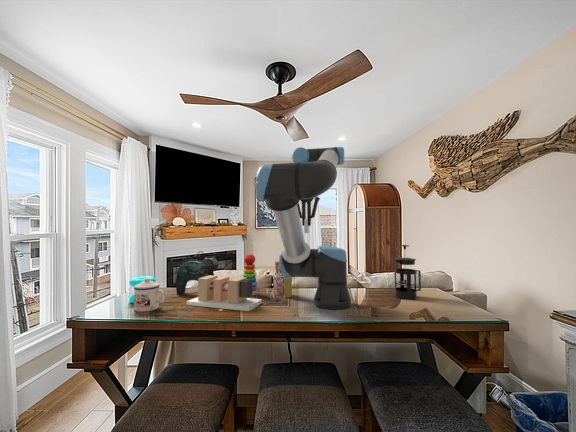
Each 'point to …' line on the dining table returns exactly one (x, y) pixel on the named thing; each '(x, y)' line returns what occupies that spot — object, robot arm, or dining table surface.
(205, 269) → the dark teal curved piece
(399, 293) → the french press
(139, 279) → the donuts
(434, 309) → the dining table surface
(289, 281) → the candy box
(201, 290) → the shaft bracket
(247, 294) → the shaft
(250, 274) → the stacking toy
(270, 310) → the dining table surface
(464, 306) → the dining table surface
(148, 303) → the teacup with lid
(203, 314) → the dining table surface
